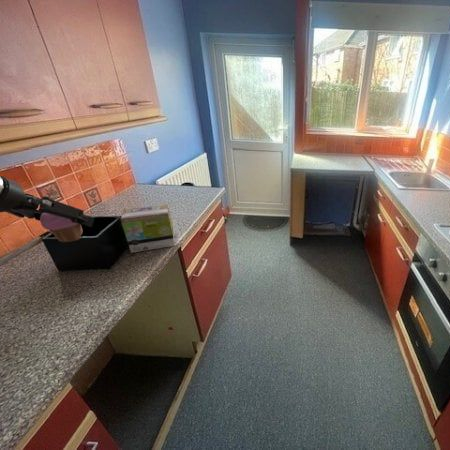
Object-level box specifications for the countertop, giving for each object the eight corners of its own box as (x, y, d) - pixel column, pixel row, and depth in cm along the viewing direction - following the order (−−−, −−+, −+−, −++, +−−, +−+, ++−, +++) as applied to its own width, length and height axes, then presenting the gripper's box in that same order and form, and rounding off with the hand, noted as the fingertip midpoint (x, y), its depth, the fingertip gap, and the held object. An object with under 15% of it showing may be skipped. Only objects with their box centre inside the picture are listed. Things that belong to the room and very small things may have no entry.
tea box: (130, 254, 92) (118, 218, 85) (133, 241, 100) (123, 207, 93) (175, 246, 98) (167, 212, 91) (175, 234, 105) (167, 202, 99)
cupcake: (86, 243, 71) (72, 211, 66) (46, 249, 67) (29, 216, 63) (93, 229, 78) (81, 199, 73) (57, 234, 74) (42, 203, 70)
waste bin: (58, 271, 82) (41, 238, 76) (87, 245, 95) (75, 216, 90) (109, 269, 84) (96, 237, 78) (131, 244, 97) (122, 215, 91)
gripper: (-76, 204, 51) (33, 233, 72) (33, 208, 51) (109, 235, 73) (-59, 172, 53) (42, 209, 74) (45, 176, 53) (115, 211, 75)
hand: (75, 222), depth 74 cm, fingers closed on cupcake, 9 cm apart
